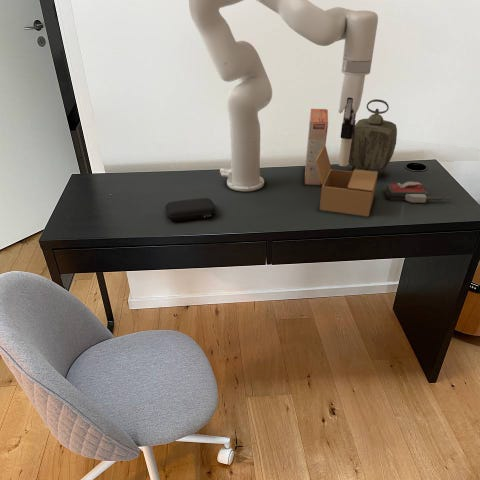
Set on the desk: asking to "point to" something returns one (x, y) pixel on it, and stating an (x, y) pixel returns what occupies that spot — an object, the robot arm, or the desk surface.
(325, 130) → the cracker box
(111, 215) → the desk surface
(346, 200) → the carton
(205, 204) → the carrying case
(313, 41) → the robot arm
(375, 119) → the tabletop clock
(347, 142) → the marker
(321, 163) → the flap
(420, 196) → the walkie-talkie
